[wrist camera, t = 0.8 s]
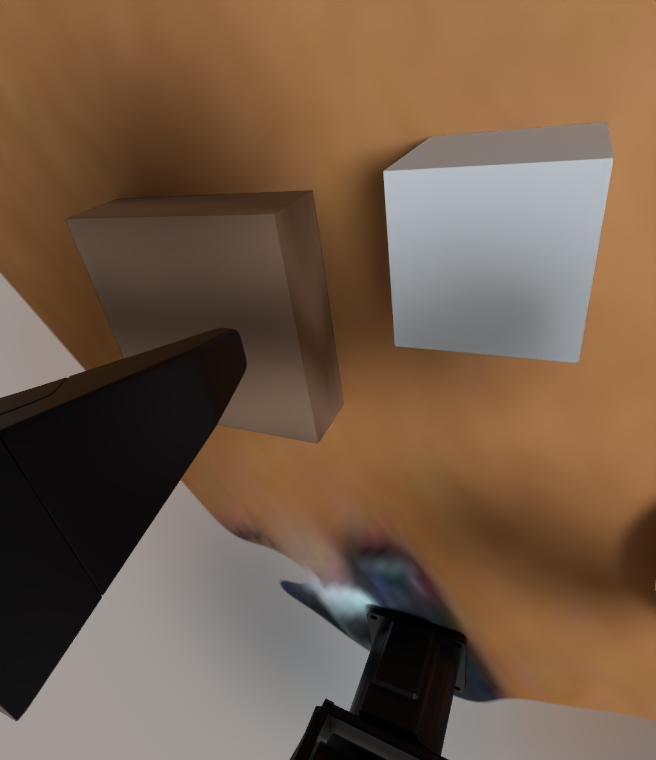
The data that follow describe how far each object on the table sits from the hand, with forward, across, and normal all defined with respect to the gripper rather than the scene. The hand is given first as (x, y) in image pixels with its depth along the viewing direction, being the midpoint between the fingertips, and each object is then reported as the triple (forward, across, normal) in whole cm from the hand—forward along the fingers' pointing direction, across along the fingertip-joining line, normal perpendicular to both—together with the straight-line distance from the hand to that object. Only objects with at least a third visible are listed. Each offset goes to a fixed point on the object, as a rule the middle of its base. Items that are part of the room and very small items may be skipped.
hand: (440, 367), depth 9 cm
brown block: (+10, +12, +4) cm, 16 cm away
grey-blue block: (+10, 0, 0) cm, 10 cm away
